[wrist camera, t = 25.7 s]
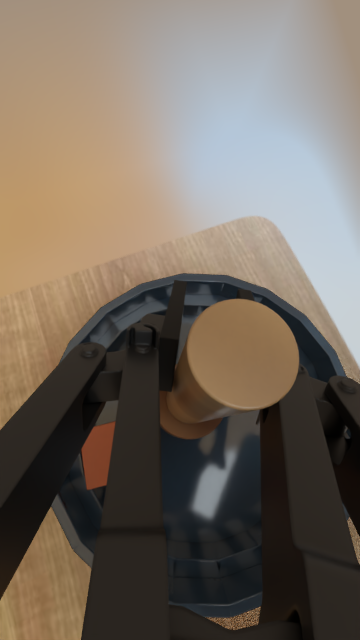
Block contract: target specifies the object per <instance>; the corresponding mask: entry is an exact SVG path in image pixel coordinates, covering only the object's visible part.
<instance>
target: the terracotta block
mask: <svg viewBox="0 0 360 640" xmlns="http://www.w3.org/2000/svg"><path fill="white" fill-rule="evenodd" d="M114 428H115V421H114V422H110V423H106V424H102V425H98V426H94V427H93V429H92V431H91V432H90V434H89V436H88V438H87V440H86V442H85V444H84V445H83V447H82V449H81V452H82V459H83V466H84V473H85V481H86V488H87V490H91V489H94V488H98V487H102V486H105V485H106V484H107V477H108V470H109V463H110V456H111V449H112V442H113V435H114Z"/></svg>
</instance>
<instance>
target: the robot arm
mask: <svg viewBox="0 0 360 640" xmlns="http://www.w3.org/2000/svg"><path fill="white" fill-rule="evenodd" d="M186 287H187V282H186V281H179V280H174V284H173V288H172V292H171V296H170V299H169V303H168V307H167V311H166V315H165V316H163V315H156V314H146V315H145V316H144V317H142V319H141V321H140V323H135V324H132V325H130V326H129V327H128V328H127V333H126V349H124V350H121V351H116V352H106V348H105V347H104V346H103V345H101V344H98V343H94V342H86V343H82V344H79V345H77V346H75V347H74V348H73V349H72V350H71V351H70V352H69V353H68V355H67V356H66V357H65V358H64V359H63V360H62V361H61V362H60V364H59V365H58V366H57V367H56V368H55V369H54V370H53V371H52V373H51V374H50V375H49V376H48V377H47V378H46V379H45V380H44V382H43V383H42V384H41V385H40V386H39V387H38V388H37V389H36V391H35V392H34V393H33V394H32V395H31V396H30V397H29V399H28V400H27V401H26V402H25V403H24V404H23V405H22V406H21V408H20V409H19V410H18V411H17V412H16V413H15V414H14V415H13V417H12V418H11V419H10V420H9V421H8V422H7V423H6V424H5V426H4V427H3V428H2V429H1V430H0V600H1V598H2V596H3V594H4V592H5V590H6V588H7V587H8V585H9V583H10V581H11V579H12V577H13V575H14V574H15V572H16V570H17V568H18V566H19V564H20V562H21V561H22V559H23V557H24V555H25V553H26V551H27V549H28V548H29V546H30V544H31V542H32V540H33V538H34V536H35V535H36V533H37V531H38V529H39V527H40V525H41V523H42V522H43V520H44V518H45V516H46V514H47V512H48V510H49V509H50V507H51V505H52V503H53V501H54V499H55V497H56V496H57V494H58V492H59V490H60V488H61V486H62V484H63V483H64V481H65V479H66V477H67V475H68V473H69V471H70V470H71V468H72V466H73V464H74V462H75V460H76V458H77V457H78V455H79V453H80V451H81V449H82V447H83V445H84V444H85V442H86V440H87V438H88V436H89V434H90V432H91V431H92V429H93V427H94V425H95V423H96V421H97V419H98V418H99V416H100V414H101V412H102V410H103V408H104V406H105V405H106V401H115V400H118V407H117V414H116V421H115V428H114V435H113V442H112V449H111V456H110V463H109V470H108V477H107V484H106V491H105V498H104V505H103V512H102V519H101V526H100V530H99V532H98V534H97V539H96V544H95V550H94V556H93V563H92V570H91V576H90V583H89V590H88V596H87V603H86V610H85V616H84V623H83V630H82V637H81V640H360V565H359V563H358V560H357V557H356V554H355V550H354V546H353V543H352V539H351V535H350V531H349V527H348V523H347V520H346V516H345V512H344V508H343V504H344V506H345V508H346V510H347V512H348V514H349V516H350V518H351V520H352V522H353V524H354V526H355V528H356V530H357V532H358V534H359V536H360V384H359V383H357V382H356V381H354V380H353V379H350V378H348V377H344V376H339V375H338V376H332V377H330V379H329V381H328V383H326V382H323V381H320V380H317V379H315V378H312V377H310V376H309V374H308V371H307V369H306V368H305V367H304V366H303V365H302V364H300V363H299V368H298V373H297V376H296V380H295V382H294V384H293V386H292V387H291V389H290V390H289V392H288V393H287V394H286V395H285V396H284V397H283V398H282V399H281V400H280V401H278V402H277V403H275V404H273V405H272V406H269V407H267V408H264V409H260V411H259V414H258V417H257V420H256V424H257V425H258V423H259V421H260V468H261V532H262V605H261V610H260V616H259V623H258V625H255V626H251V627H246V628H242V629H238V630H229V629H226V628H224V627H222V626H221V625H219V624H217V623H215V622H213V621H211V620H209V619H207V618H205V617H203V616H201V615H199V614H197V613H195V612H193V611H191V610H189V609H187V608H186V607H184V606H178V605H171V604H169V593H168V565H167V542H166V532H165V530H164V526H163V501H162V465H161V429H160V393H159V390H160V391H168V392H172V386H173V378H174V372H175V365H176V358H177V351H178V344H179V337H180V330H181V323H182V316H183V309H184V301H185V294H186ZM236 299H246V300H251V301H255V300H254V297H253V295H252V292H251V290H245V289H238V291H237V296H236ZM347 428H348V429H349V431H350V433H351V437H349V436H348V434H347V433H346V430H347ZM342 502H343V504H342Z"/></svg>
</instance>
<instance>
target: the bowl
mask: <svg viewBox="0 0 360 640" xmlns="http://www.w3.org/2000/svg"><path fill="white" fill-rule="evenodd" d="M174 280H179V281H186V282H187V287H186V294H185V301H184V309H183V316H182V323H181V330H180V337H179V344H178V351H177V358H176V364H178V361H179V359H180V356H181V353H182V350H183V348H184V345H185V342H186V339H187V337H188V334H189V331H190V329H191V327H192V325H193V323H194V321H195V320H196V318H197V317H198V316H199V315H200V314H201V313H202V312H203V311H204V310H205V309H207V308H208V307H210V306H211V305H213V304H216V303H218V302H221V301H224V300H230V299H236V296H237V291H238V289H245V290H251V292H252V295H253V297H254V300H255V302H258V303H260V304H263V305H265V306H267V307H268V308H270V309H272V310H273V311H274V312H275V313H277V314H278V315H279V316H280V317H281V318H282V319H283V320H284V321H285V322H286V324H287V325H288V326H289V328H290V330H291V331H292V333H293V335H294V337H295V340H296V343H297V347H298V351H299V363H300V364H302V365H303V366H304V367H305V368H306V369H307V371H308V374H309V376H310V377H312V378H315V379H317V380H320V381H323V382H326V383H328V381H329V379H330V377H332V376H338V375H339V376H344V377H347V376H346V374H345V372H344V369H343V367H342V365H341V363H340V360H339V358H338V356H337V354H336V351H335V350H334V349H333V348H332V347H331V345H330V344H329V343H328V342H327V341H326V339H325V338H324V337H323V336H322V335H321V333H320V332H319V331H318V330H317V328H316V327H315V326H314V325H313V324H312V322H311V321H310V320H309V319H308V318H307V316H305V315H304V314H303V313H302V312H300V311H299V310H297V309H296V308H294V307H293V306H291V305H290V304H288V303H287V302H286V301H284V300H283V299H281V298H280V297H278V296H277V295H275V294H274V293H273V292H271V291H270V290H268V289H266V288H263V287H260V286H257V285H254V284H251V283H248V282H245V281H242V280H239V279H236V278H233V277H230V276H227V275H210V274H186V273H183V274H178V275H174V276H170V277H166V278H162V279H158V280H154V281H150V282H146V283H142V284H141V285H138V286H136V287H134V288H133V289H131V290H129V291H128V292H126V293H124V294H123V295H121V296H119V297H118V298H116V299H114V300H113V301H111V302H109V303H108V304H106V305H104V306H103V307H101V308H100V309H99V310H98V311H97V312H96V313H95V315H94V316H93V317H92V318H91V319H90V320H89V321H88V322H87V323H86V324H85V325H84V327H83V328H82V329H81V330H80V331H79V332H78V333H77V334H76V335H75V336H74V337H73V338H72V340H71V341H70V342H69V344H68V346H67V348H66V350H65V352H64V354H63V356H62V358H61V360H60V362H61V361H62V360H63V359H64V358H65V357H66V356H67V355H68V353H69V352H70V351H71V350H72V349H73V348H74V347H75V346H77V345H79V344H82V343H86V342H94V343H98V344H101V345H103V346H104V347H105V348H106V352H116V351H121V350H124V349H126V333H127V328H128V327H129V326H130V325H132V324H135V323H140V321H141V319H142V317H144V316H145V315H146V314H156V315H163V316H165V315H166V311H167V307H168V303H169V299H170V296H171V292H172V288H173V284H174ZM60 362H59V364H60ZM59 364H58V365H59ZM117 407H118V400H115V401H106V405H105V406H104V408H103V410H102V412H101V414H100V416H99V418H98V419H97V421H96V423H95V425H94V426H98V425H102V424H106V423H110V422H114V421H116V414H117ZM259 411H260V410H255V411H251V412H246V413H241V414H236V415H232V416H227V417H223V419H222V421H221V422H220V424H219V425H218V426H217V428H216V429H215V430H214V431H212V432H211V433H210V434H208V435H206V436H204V437H201V438H198V439H182V438H177V437H174V436H172V435H170V434H168V433H167V432H165V431H164V430H163V429H162V428H161V427H160V429H161V465H162V501H163V526H164V530H165V532H166V542H167V565H168V593H169V604H171V605H178V606H184V607H186V608H187V609H189V610H191V611H193V612H195V613H197V614H199V615H201V616H203V617H211V618H230V617H234V616H237V615H239V614H242V613H245V612H247V611H250V610H252V609H255V608H258V607H260V606H261V605H262V532H261V468H260V421H259V423H258V425H257V424H256V420H257V417H258V414H259ZM346 433H347V434H348V436H349V437H351V433H350V431H349V429H348V428H347V430H346ZM105 491H106V485H105V486H102V487H98V488H94V489H91V490H87V488H86V481H85V473H84V466H83V459H82V452H81V451H80V453H79V455H78V457H77V458H76V460H75V462H74V464H73V466H72V468H71V470H70V471H69V473H68V475H67V477H66V479H65V481H64V483H63V484H62V486H61V488H60V490H59V492H58V494H57V496H56V497H55V499H54V501H53V503H52V505H51V507H52V509H53V511H54V513H55V515H56V517H57V519H58V521H59V523H60V525H61V527H62V529H63V531H64V533H65V535H66V537H67V539H68V541H69V543H70V545H71V547H72V549H73V550H74V552H75V553H76V554H77V555H78V556H79V557H80V558H81V559H82V560H83V561H84V562H85V563H86V564H87V565H88V566H89V567H91V568H92V563H93V556H94V550H95V544H96V539H97V534H98V532H99V530H100V526H101V519H102V512H103V505H104V498H105ZM342 504H343V502H342ZM343 508H344V512H345V516H346V520H347V521H348V519H349V517H350V516H349V514H348V512H347V510H346V508H345V506H344V504H343Z"/></svg>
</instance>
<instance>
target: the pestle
mask: <svg viewBox="0 0 360 640" xmlns="http://www.w3.org/2000/svg"><path fill="white" fill-rule="evenodd" d="M298 368H299V351H298V347H297V343H296V340H295V337H294V335H293V333H292V331H291V330H290V328H289V326H288V325H287V324H286V322H285V321H284V320H283V319H282V318H281V317H280V316H279V315H278V314H277V313H275V312H274V311H273V310H272V309H270V308H268V307H267V306H265V305H263V304H260V303H258V302H255V301H251V300H246V299H230V300H224V301H221V302H218V303H216V304H213V305H211V306H210V307H208V308H207V309H205V310H204V311H203V312H202V313H201V314H200V315H199V316H198V317H197V318H196V320H195V321H194V323H193V325H192V327H191V329H190V331H189V334H188V337H187V339H186V342H185V345H184V348H183V350H182V353H181V356H180V359H179V361H178V364H176V365H175V372H174V378H173V386H172V392H168V391H160V390H159V393H160V427H161V428H162V429H163V430H164V431H165V432H167V433H168V434H170V435H172V436H174V437H177V438H182V439H198V438H201V437H204V436H206V435H208V434H210V433H211V432H212V431H214V430H215V429H216V428H217V426H218V425H219V424H220V422H221V421H222V419H223V417H227V416H232V415H236V414H241V413H246V412H251V411H255V410H260V409H264V408H267V407H269V406H272V405H273V404H275V403H277V402H278V401H280V400H281V399H282V398H283V397H284V396H285V395H286V394H287V393H288V392H289V390H290V389H291V387H292V386H293V384H294V382H295V380H296V376H297V373H298Z"/></svg>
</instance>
